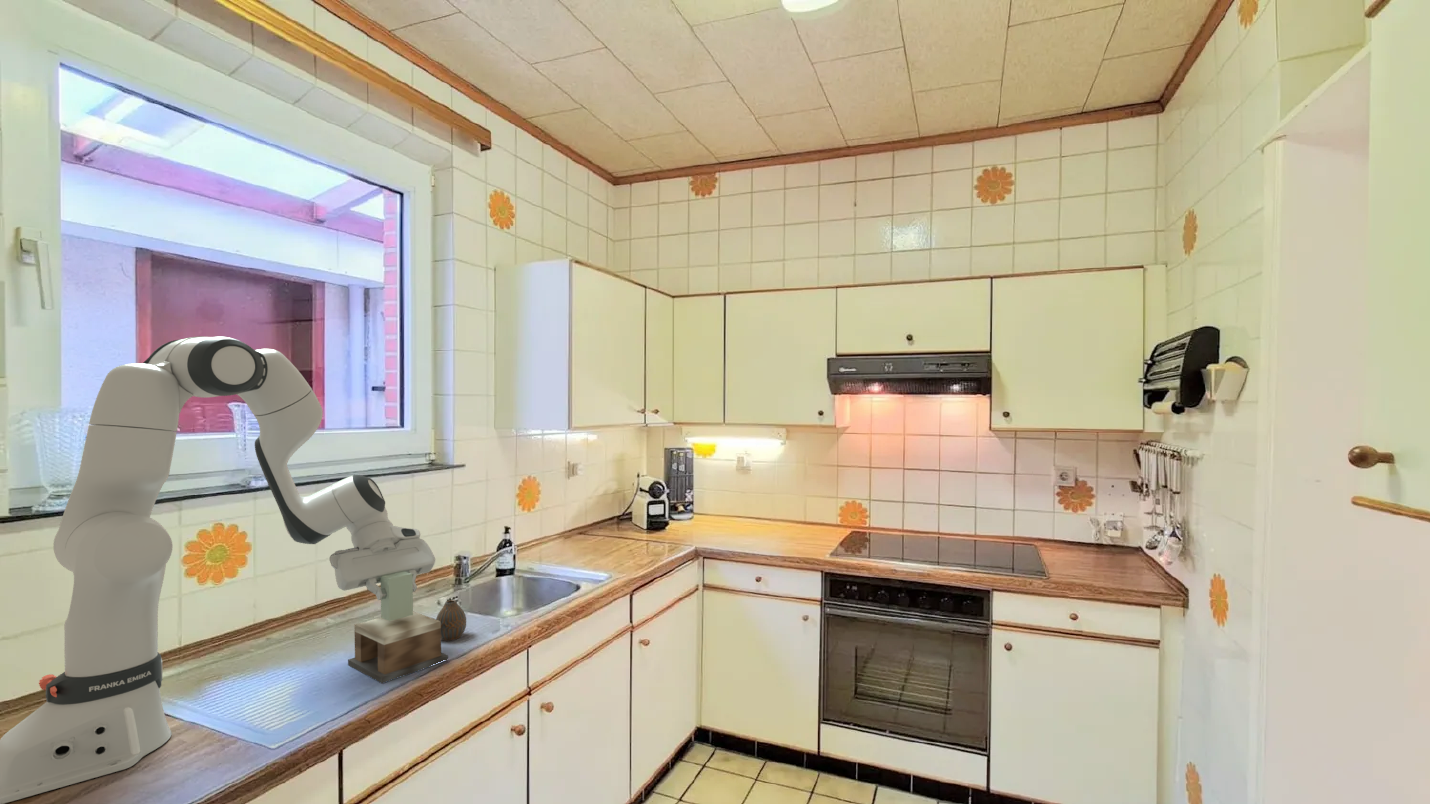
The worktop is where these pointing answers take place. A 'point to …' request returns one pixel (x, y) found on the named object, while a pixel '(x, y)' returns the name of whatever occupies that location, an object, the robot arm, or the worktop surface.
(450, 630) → the vase
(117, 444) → the robot arm
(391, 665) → the bridge
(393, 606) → the block
